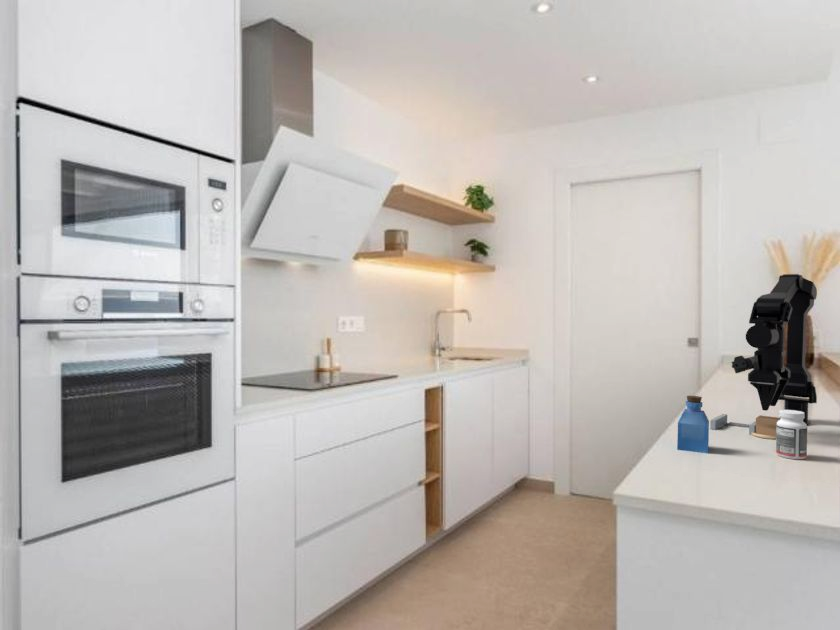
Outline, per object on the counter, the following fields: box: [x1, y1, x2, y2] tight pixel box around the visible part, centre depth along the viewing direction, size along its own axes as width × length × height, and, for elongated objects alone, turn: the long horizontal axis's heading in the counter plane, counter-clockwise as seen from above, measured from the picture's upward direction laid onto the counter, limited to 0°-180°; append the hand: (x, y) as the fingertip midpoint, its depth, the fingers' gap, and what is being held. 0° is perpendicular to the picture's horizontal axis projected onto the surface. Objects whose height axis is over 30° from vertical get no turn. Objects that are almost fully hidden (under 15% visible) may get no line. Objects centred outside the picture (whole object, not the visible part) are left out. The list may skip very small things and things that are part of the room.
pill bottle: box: [775, 409, 808, 460], centre depth 128 cm, size 6×6×10 cm
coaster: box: [750, 432, 776, 441], centre depth 148 cm, size 8×8×1 cm
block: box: [755, 415, 781, 436], centre depth 148 cm, size 5×5×4 cm
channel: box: [709, 413, 756, 436], centre depth 156 cm, size 12×10×2 cm
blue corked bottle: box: [676, 395, 710, 454], centre depth 134 cm, size 6×6×12 cm
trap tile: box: [726, 421, 750, 429], centre depth 160 cm, size 3×7×1 cm, turn 49°
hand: (768, 408), depth 148 cm, fingers open, 9 cm apart
